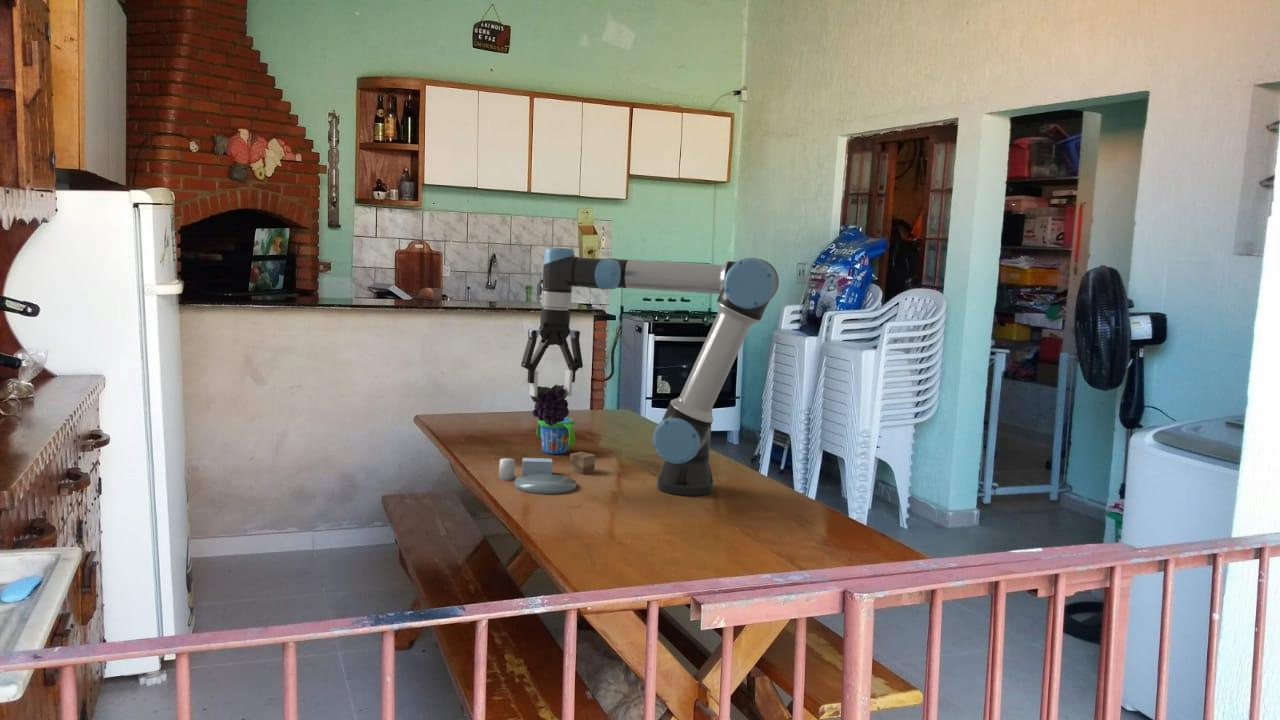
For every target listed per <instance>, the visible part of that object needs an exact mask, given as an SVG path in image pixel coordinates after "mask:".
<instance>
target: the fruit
mask: <svg viewBox="0 0 1280 720" xmlns="http://www.w3.org/2000/svg"><path fill="white" fill-rule="evenodd" d="M564 386H565V384H563V385H560V384H555V385H554V386H552V387H551V388H550V387H549V386H548V387H547V386H541V385H540V386H539V385H537V397H533V396H531V395H530V398H531V400H532V402H534V409H533V411H532V415H533V416H534V417H535V418H537V420H538V421H539V420H540V421H544V422H545V423H546V424H548V425H549V426H552V425H553V424H557V423H558V422H559V423H560V422H562V421H564V417H565V418H568V416H569V415H570V414H569V413H570V412H569V411H570V409H569V408H568V407H569V403H568V400H567V399H566V398H567V397H568V395H565V389H564Z"/></svg>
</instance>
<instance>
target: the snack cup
mask: <svg viewBox="0 0 1280 720" xmlns="http://www.w3.org/2000/svg"><path fill="white" fill-rule="evenodd" d="M537 422H538V423H537V428H536V433H535V434H536V437H537V438H541V448H542V452H543V453H545V454H548V455H563V454H565V453H567V452H568V451H569V447H571V446H574V445H575V443H576V434H575V433H576V432H575V427H574V424H575V421H574V419H572V418H570V417H564V421H562V422H560V423H559V422H558V423H557V424H553V425H552V426H549V425H548V424H546V423H545V422H544V421H540V420H538V421H537Z"/></svg>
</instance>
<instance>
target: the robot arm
mask: <svg viewBox="0 0 1280 720" xmlns="http://www.w3.org/2000/svg"><path fill="white" fill-rule="evenodd" d="M575 255H576V254H575V250H574V249H573V248H564V247H552V246H551V247H547V248H546V249H545V251H544V258H543V263H542V264H543V265H542V266H543V267H542V269H543V271H542V290H541V303H540V305H541V306H542V307H543V308H542V309H541V310H540V319H539V320H540V326H539V328H538V329H532V328H529V329H528V331H527V336H528V339H527V342H526V346H525V348H524V349H525V350H524V353H523V355H522V360H521V364H520V367H521V368H524V369H526V370H527V378H526V379H527V383H528V384H530V385H529V396H530V397H531V396H533V397H537V386H539V385H538V382H539V381H538V380H539V371H538V370H537V367H538V365H539V364H540V362H541V360H542V359H543V356H544V354H545V352H546V350H547V349H548V348H549V347H550V346H554V345H557V346H558V347H559V348H560V351H561V353H562V356H563V358H564V361H565V362H566V365H567V367H568V369H565V371H564V372H565V373H564V389H565V395H567V397H571V396H572V391H573V390H572V389H573V383H575V382H576V372H577V371H578V370H579V369H581V368H583V367H584V365H583V357H582V350H581V345H580V343H581V342H580V337H581V331H579V330H576V329H571V328H570V323H571V311H570V310H569V309H571V308H572V292H573V290H572V289H573V287H574V288H575V287H576V288H578V287H579V288H588V289H597V290H615V289H617V288H618V289H633V290H634V289H636V290H651V291H664V292H665V291H666V292H678V293H679V292H681V293H682V292H683V293H695V294H698V293H699V294H712V295H714V294H715V295H718V298H717V299H716V305H717V307H718V312H717V315H716V316H715V319H714V321H713V323H712V326H711V328H710V330H709V332H708V333H707V337H706V339H705V341H704V342H703V344H702V347H701V349H700V352H699V354H698V355H697V358H696V360H695V362H694V364H693V366H692V369H691V371H690V374H689V375H688V377H687V380H686V381H685V384H684V385H683V388H682V391H681V393H680V395H679V396H678V397H677V398H674V399H671V400H670V402H669V404H668V406H667V409H666V411H665V412H664V415H663V417H662V419H661V421H660V422H658V424H657V425H656V427H655V429H654V431H653V435H652V436H653V437H652V443H653V447H654V450H655V451H656V454H657V455H658V456H660V458H661V459H663V460H664V461H663V464H662V466H661V468H660V471H659V475H658V476H657V479H656V488H657V489H659V491H661V492H664V493H667V494H673V495H679V496H690V497H691V496H694V497H695V496H705V495H709V494H712V493H713V492H714V487H715V486H714V483H715V482H714V478H713V473H712V469H711V466H710V450H711V449H710V448H711V434H712V424H713V421H714V418H713V408H714V405H715V403H716V402H717V399H718V397H719V394H720V392H721V390H722V388H723V386H724V384H725V382H726V379H727V377H728V375H729V374H730V371H731V369H732V367H733V364H734V363H735V360H736V358H737V356H738V354H739V353H740V349H741V347H742V345H743V343H744V341H745V339H746V337H747V335H748V333H749V330H750V328H751V327H752V326H753V325H754V324H757V323H760V322H761V320H762V318H763V315H764V314H765V311H766V309H767V307H768V305H769V303H770V301H771V300H772V299H773V298H774V297H775V295H776V294H777V291H778V288H779V283H780V281H779V275H778V273H777V270H776V268H775V267H774V266H773V265H772V264H771V263H770V262H769V261H767V260H764V259H761V258H755V257H746V258H742V259H740V260H738V261H731V260H730V261H729V260H727V261H726V262H724V263H723V264H715V263H713V264H712V263H696V262H695V263H693V262H675V261H659V260H658V261H657V260H643V259H642V260H641V259H639V260H638V259H623V258H622V259H620V258H618V259H617V258H612V257H610V258H609V257H608V258H596V257H580V256H575ZM539 336H540V337H541V338H540V341H539V343H538V347H537V348H536V344H537V341H538V338H539ZM568 337H569V338H570V344H571V351H572V352H571V351H570V348H569V342H568V340H567V338H568ZM535 348H536V350H535Z"/></svg>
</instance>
